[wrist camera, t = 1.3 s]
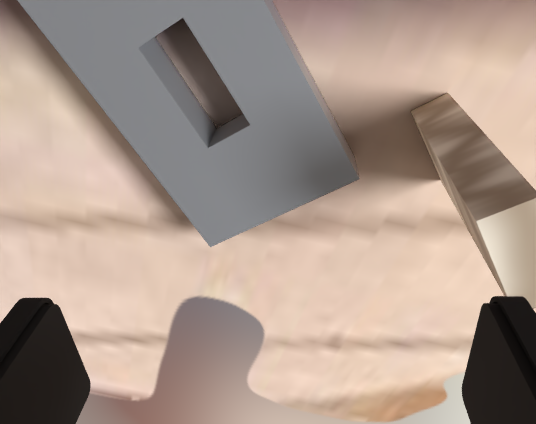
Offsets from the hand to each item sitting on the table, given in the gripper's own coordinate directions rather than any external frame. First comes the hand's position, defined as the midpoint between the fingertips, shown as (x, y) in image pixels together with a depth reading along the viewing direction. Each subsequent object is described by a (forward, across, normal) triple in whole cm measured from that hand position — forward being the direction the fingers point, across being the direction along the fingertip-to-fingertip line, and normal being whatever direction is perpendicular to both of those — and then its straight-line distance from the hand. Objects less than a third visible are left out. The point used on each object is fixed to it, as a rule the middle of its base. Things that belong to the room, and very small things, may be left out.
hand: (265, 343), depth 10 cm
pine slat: (+28, -12, +7) cm, 31 cm away
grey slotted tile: (+28, +7, +1) cm, 29 cm away
